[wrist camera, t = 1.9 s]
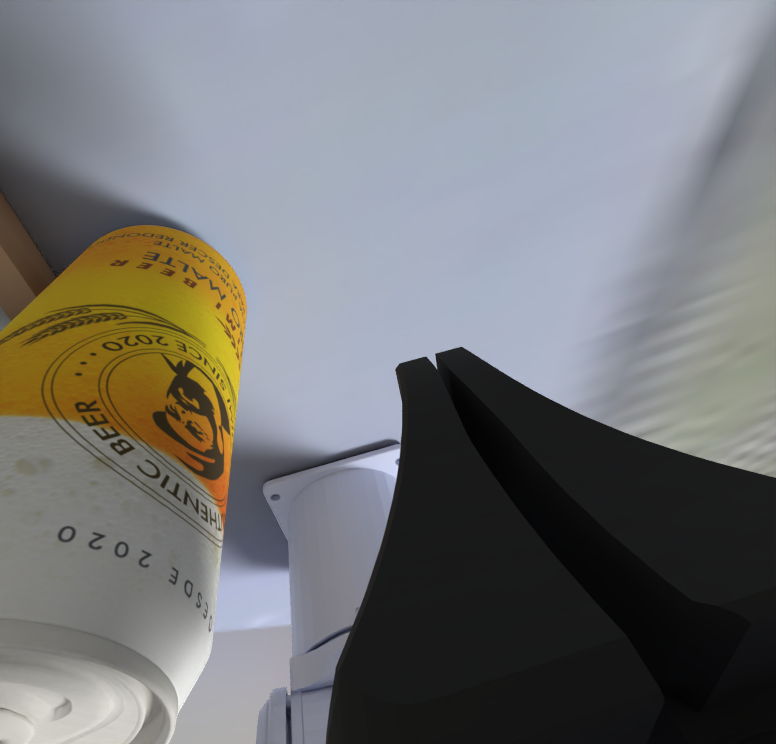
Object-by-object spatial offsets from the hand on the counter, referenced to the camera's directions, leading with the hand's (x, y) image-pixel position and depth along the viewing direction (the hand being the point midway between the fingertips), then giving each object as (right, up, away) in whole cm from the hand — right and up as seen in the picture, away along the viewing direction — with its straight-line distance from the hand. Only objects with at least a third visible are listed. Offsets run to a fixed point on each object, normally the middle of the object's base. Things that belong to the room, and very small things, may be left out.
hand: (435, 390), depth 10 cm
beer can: (-10, +4, +8) cm, 13 cm away
